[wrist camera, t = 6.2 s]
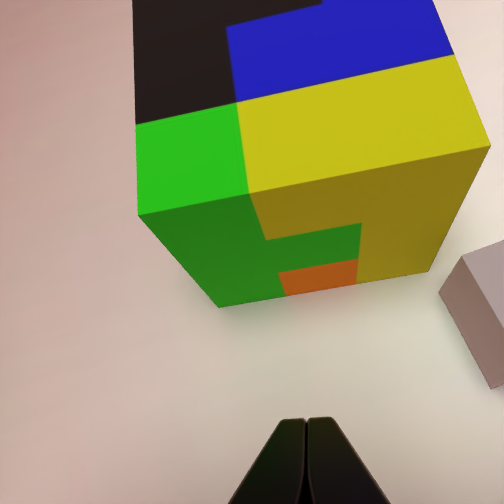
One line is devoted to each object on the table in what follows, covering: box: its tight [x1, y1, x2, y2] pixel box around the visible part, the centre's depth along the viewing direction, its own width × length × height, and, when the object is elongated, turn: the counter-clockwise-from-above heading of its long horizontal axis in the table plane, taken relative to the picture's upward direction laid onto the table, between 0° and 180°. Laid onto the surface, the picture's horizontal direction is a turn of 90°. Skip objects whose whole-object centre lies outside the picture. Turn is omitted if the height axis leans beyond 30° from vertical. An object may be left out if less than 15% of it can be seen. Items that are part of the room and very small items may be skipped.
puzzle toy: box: [132, 0, 491, 308], centre depth 20 cm, size 10×10×10 cm
